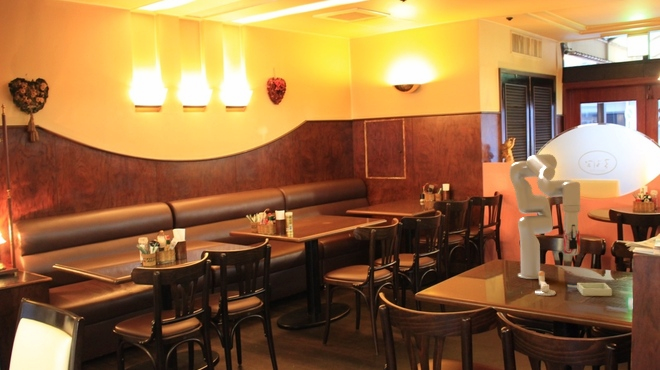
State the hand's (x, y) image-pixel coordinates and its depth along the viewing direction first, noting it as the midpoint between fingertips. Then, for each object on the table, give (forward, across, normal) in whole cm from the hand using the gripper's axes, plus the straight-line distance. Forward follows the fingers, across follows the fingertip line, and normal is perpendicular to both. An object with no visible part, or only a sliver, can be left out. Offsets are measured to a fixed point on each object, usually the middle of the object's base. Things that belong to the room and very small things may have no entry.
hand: (571, 247), depth 291 cm
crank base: (+22, +1, -12) cm, 25 cm away
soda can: (+4, 0, 0) cm, 4 cm away
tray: (+22, -2, +10) cm, 24 cm away
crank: (+20, -4, -12) cm, 24 cm away
